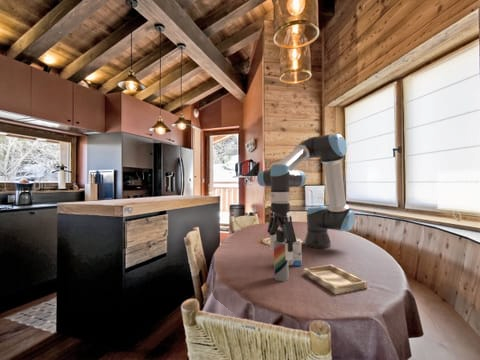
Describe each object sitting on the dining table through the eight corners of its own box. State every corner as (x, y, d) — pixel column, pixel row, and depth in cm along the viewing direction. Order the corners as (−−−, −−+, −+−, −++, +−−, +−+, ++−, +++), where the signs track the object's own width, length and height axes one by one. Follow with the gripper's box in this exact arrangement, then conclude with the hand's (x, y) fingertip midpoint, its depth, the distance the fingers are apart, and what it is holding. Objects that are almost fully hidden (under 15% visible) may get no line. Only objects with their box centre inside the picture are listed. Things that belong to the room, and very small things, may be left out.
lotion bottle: (273, 276, 106) (272, 228, 106) (286, 275, 106) (285, 228, 106) (276, 282, 100) (275, 231, 100) (290, 281, 101) (289, 230, 100)
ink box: (302, 263, 122) (301, 238, 121) (301, 266, 117) (300, 241, 117) (284, 261, 124) (283, 237, 124) (282, 264, 120) (281, 239, 120)
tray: (303, 274, 108) (303, 268, 108) (331, 269, 112) (331, 264, 112) (335, 294, 89) (335, 287, 89) (367, 288, 93) (367, 281, 93)
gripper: (259, 200, 114) (260, 247, 114) (287, 205, 90) (287, 265, 90) (274, 199, 116) (275, 246, 116) (305, 204, 92) (306, 263, 92)
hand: (280, 254), depth 103 cm, fingers open, 13 cm apart
